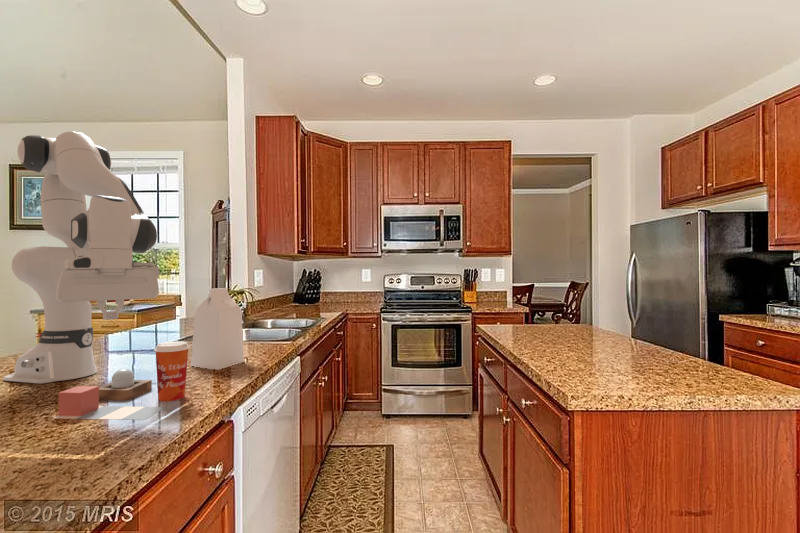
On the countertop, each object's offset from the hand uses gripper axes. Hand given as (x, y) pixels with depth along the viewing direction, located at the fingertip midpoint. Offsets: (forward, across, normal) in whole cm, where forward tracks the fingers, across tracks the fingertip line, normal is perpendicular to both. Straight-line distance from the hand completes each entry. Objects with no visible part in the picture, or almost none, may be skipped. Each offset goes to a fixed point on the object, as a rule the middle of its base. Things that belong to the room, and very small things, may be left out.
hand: (110, 319), depth 98 cm
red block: (+20, +6, +4) cm, 21 cm away
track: (+21, +1, +9) cm, 23 cm away
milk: (+20, -34, -24) cm, 47 cm away
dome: (+20, -3, -5) cm, 21 cm away
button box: (+20, -3, -5) cm, 21 cm away
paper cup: (+21, -12, +7) cm, 25 cm away
